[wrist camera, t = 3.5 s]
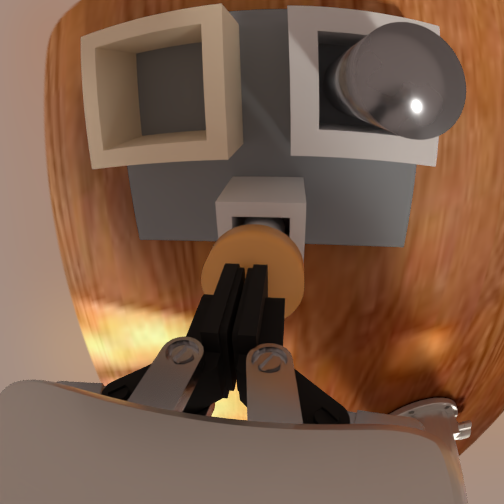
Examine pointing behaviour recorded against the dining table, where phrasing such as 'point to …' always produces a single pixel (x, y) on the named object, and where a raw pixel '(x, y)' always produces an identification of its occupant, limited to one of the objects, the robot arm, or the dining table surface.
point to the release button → (259, 258)
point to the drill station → (246, 126)
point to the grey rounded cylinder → (399, 81)
